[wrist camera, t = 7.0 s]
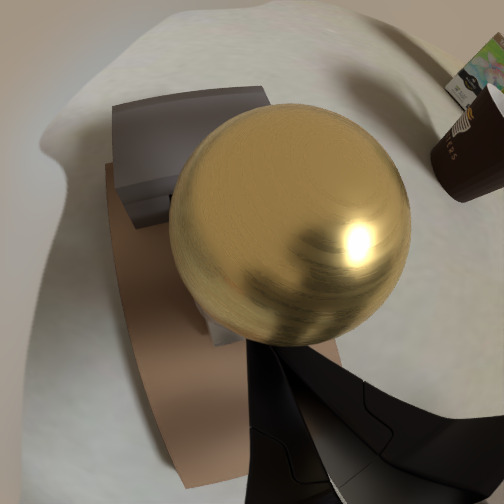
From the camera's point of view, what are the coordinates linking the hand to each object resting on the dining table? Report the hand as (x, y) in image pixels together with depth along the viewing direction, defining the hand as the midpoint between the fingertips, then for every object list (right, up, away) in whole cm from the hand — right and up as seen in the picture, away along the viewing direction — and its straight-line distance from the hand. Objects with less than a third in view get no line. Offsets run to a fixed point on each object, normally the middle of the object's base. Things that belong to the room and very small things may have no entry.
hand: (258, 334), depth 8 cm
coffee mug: (+21, +11, +15) cm, 28 cm away
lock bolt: (-2, +3, +5) cm, 6 cm away
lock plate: (-2, -1, +7) cm, 7 cm away
